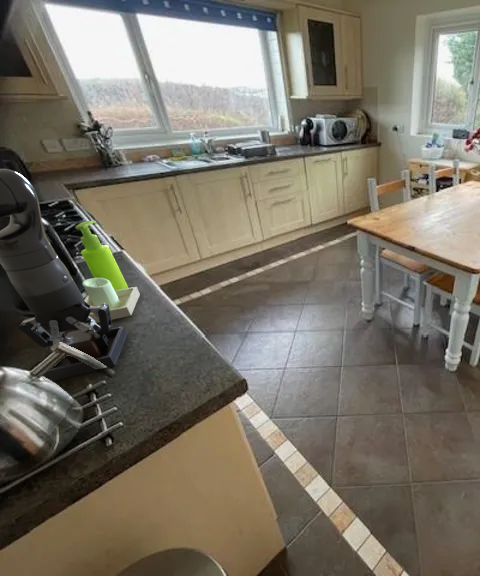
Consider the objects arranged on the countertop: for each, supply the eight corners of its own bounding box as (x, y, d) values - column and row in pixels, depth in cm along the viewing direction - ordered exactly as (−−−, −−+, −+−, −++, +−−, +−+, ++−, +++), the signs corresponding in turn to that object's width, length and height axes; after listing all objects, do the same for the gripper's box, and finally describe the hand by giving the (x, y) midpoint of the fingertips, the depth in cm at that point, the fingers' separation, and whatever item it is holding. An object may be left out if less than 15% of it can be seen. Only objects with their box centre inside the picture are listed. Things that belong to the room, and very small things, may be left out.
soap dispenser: (134, 283, 97) (103, 218, 87) (122, 295, 91) (88, 227, 81) (112, 285, 96) (78, 219, 86) (98, 297, 90) (61, 229, 80)
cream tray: (76, 326, 79) (71, 318, 78) (91, 303, 88) (87, 295, 87) (131, 315, 83) (127, 307, 82) (140, 294, 92) (136, 286, 90)
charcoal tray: (46, 382, 64) (39, 373, 62) (68, 347, 72) (62, 338, 71) (115, 366, 67) (109, 356, 66) (127, 334, 76) (123, 325, 75)
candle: (124, 300, 88) (110, 273, 84) (116, 311, 84) (102, 283, 79) (102, 303, 87) (87, 276, 82) (93, 314, 82) (77, 286, 78)
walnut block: (71, 365, 67) (58, 346, 64) (79, 350, 71) (68, 332, 68) (101, 358, 68) (89, 340, 66) (107, 344, 72) (97, 326, 70)
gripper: (98, 268, 66) (132, 334, 75) (6, 282, 61) (54, 351, 70) (86, 285, 60) (125, 354, 69) (-18, 303, 55) (38, 375, 64)
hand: (89, 352), depth 69 cm, fingers closed on walnut block, 5 cm apart
